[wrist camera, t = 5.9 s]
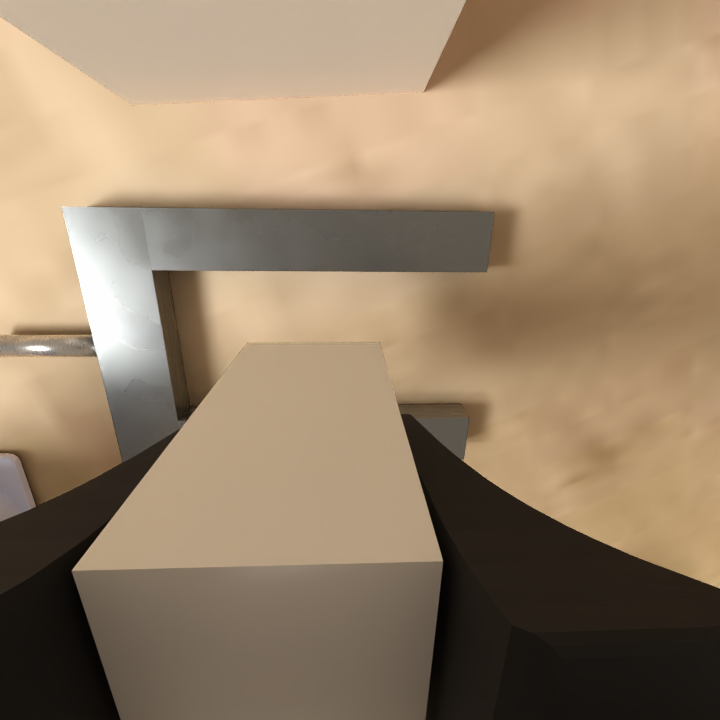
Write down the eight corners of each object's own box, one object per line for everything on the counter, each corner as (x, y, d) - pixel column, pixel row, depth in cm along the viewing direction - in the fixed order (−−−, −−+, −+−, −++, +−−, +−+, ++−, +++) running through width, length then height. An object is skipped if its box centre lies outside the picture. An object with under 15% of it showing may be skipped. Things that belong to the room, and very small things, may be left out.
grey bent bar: (40, 448, 20) (18, 465, 19) (-38, 206, 16) (-74, 204, 15) (456, 443, 21) (464, 459, 20) (481, 212, 17) (494, 211, 16)
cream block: (257, 455, 13) (140, 781, 5) (247, 342, 12) (71, 570, 4) (376, 454, 13) (420, 768, 6) (379, 342, 12) (442, 561, 4)
